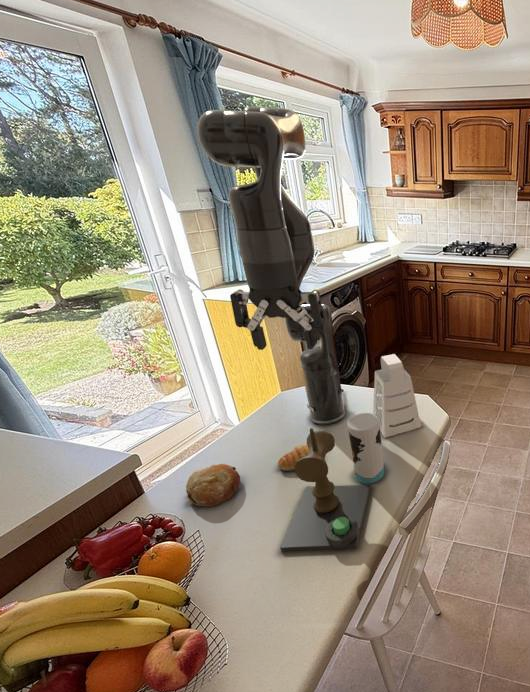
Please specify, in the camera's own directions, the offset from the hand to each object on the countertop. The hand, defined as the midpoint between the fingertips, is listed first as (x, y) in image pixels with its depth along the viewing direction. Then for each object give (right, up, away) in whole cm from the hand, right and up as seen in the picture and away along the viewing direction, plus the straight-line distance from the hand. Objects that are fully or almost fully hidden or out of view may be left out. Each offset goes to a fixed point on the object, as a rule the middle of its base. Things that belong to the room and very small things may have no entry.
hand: (287, 347), depth 73 cm
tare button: (+8, -35, +6) cm, 36 cm away
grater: (+11, -19, +42) cm, 48 cm away
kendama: (+2, -33, +13) cm, 35 cm away
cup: (+9, -29, +24) cm, 38 cm away
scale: (+3, -35, +12) cm, 37 cm away
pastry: (-9, -27, +27) cm, 39 cm away
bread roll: (-24, -31, +18) cm, 43 cm away
